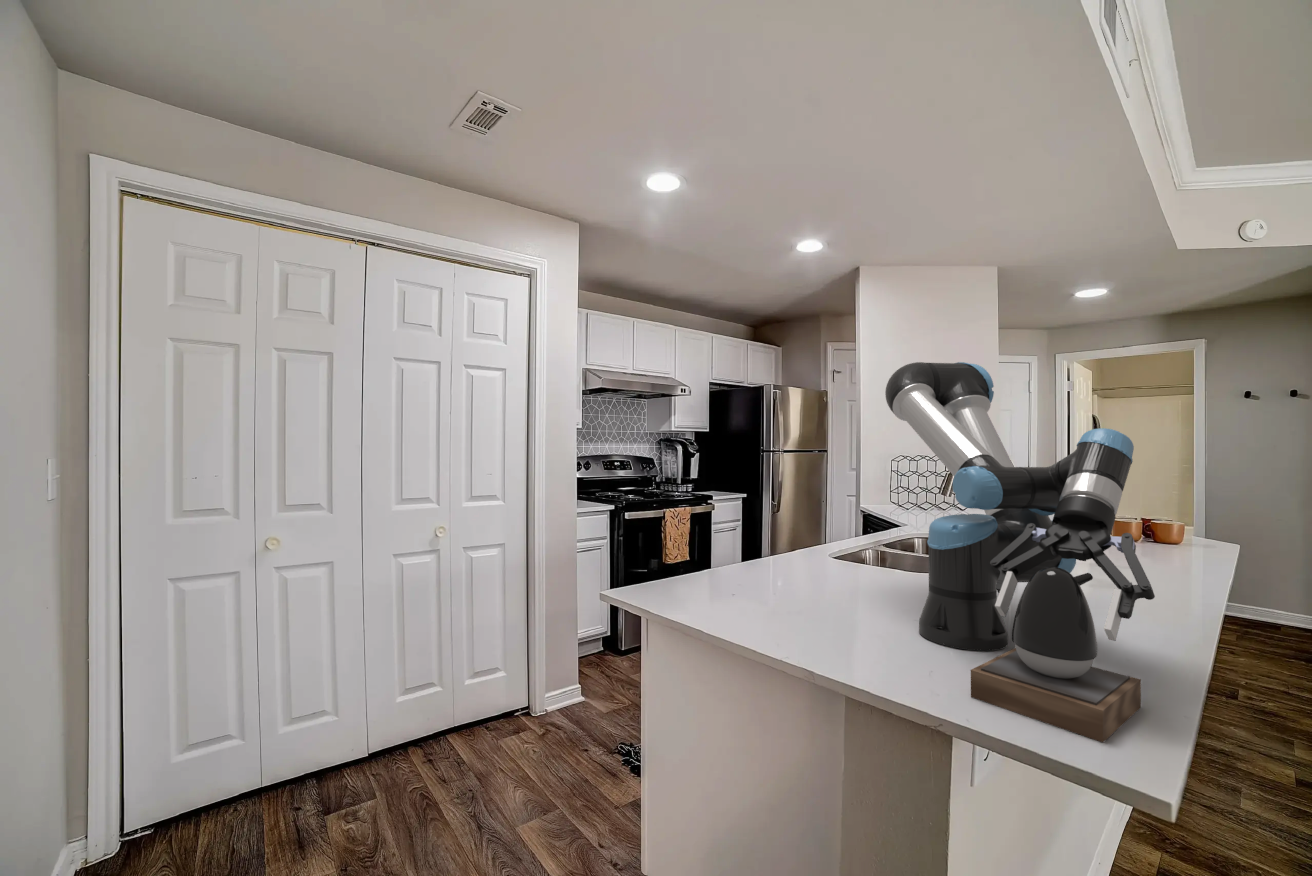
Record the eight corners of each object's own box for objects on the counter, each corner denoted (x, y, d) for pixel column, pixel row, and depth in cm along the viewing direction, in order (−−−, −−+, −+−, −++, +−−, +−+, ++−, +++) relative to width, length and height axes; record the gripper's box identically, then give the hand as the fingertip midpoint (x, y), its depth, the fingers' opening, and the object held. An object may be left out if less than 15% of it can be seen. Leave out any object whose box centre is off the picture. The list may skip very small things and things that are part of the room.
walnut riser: (1103, 742, 72) (1102, 708, 72) (970, 697, 85) (970, 667, 85) (1141, 707, 81) (1140, 677, 81) (1016, 671, 94) (1016, 645, 94)
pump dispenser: (1117, 687, 78) (1119, 576, 78) (1040, 686, 78) (1043, 575, 78) (1064, 658, 88) (1067, 559, 88) (996, 656, 88) (999, 558, 88)
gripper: (1196, 533, 83) (1171, 662, 74) (1008, 516, 103) (970, 616, 94) (1187, 499, 80) (1159, 630, 71) (994, 488, 100) (953, 589, 91)
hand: (1051, 622), depth 82 cm, fingers open, 13 cm apart
